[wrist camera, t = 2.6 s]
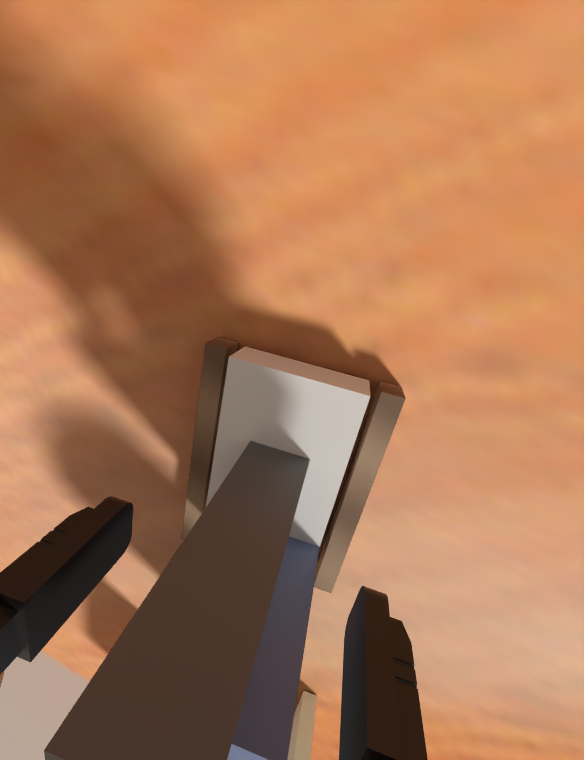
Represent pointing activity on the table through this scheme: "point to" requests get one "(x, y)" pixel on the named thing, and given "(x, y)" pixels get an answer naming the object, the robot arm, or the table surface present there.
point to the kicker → (231, 583)
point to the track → (357, 479)
